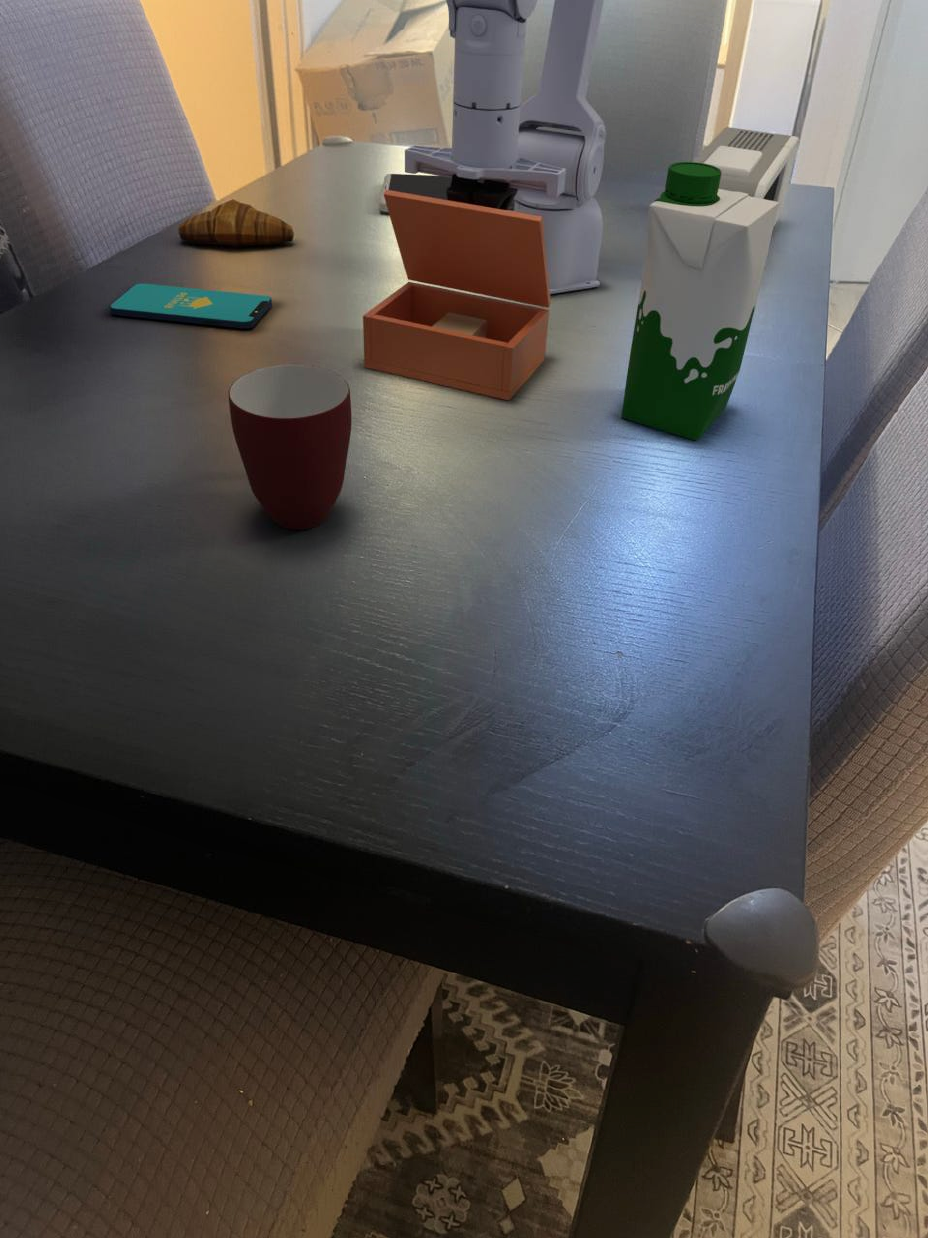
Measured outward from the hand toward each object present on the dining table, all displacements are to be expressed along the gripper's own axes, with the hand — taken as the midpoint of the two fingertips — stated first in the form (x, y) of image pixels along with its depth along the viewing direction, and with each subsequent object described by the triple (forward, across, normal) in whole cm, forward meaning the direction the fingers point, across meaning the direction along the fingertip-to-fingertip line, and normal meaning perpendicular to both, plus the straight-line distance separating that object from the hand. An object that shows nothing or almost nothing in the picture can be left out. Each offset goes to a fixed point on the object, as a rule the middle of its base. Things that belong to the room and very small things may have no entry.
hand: (479, 264), depth 89 cm
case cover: (-2, 0, -3) cm, 3 cm away
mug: (+8, 0, -33) cm, 34 cm away
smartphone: (+8, -29, -6) cm, 31 cm away
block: (+7, 0, -5) cm, 9 cm away
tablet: (+8, -17, +43) cm, 47 cm away
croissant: (+8, -36, +13) cm, 40 cm away
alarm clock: (+8, +16, +42) cm, 46 cm away
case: (+8, 0, -5) cm, 9 cm away
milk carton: (+8, +21, -5) cm, 23 cm away
